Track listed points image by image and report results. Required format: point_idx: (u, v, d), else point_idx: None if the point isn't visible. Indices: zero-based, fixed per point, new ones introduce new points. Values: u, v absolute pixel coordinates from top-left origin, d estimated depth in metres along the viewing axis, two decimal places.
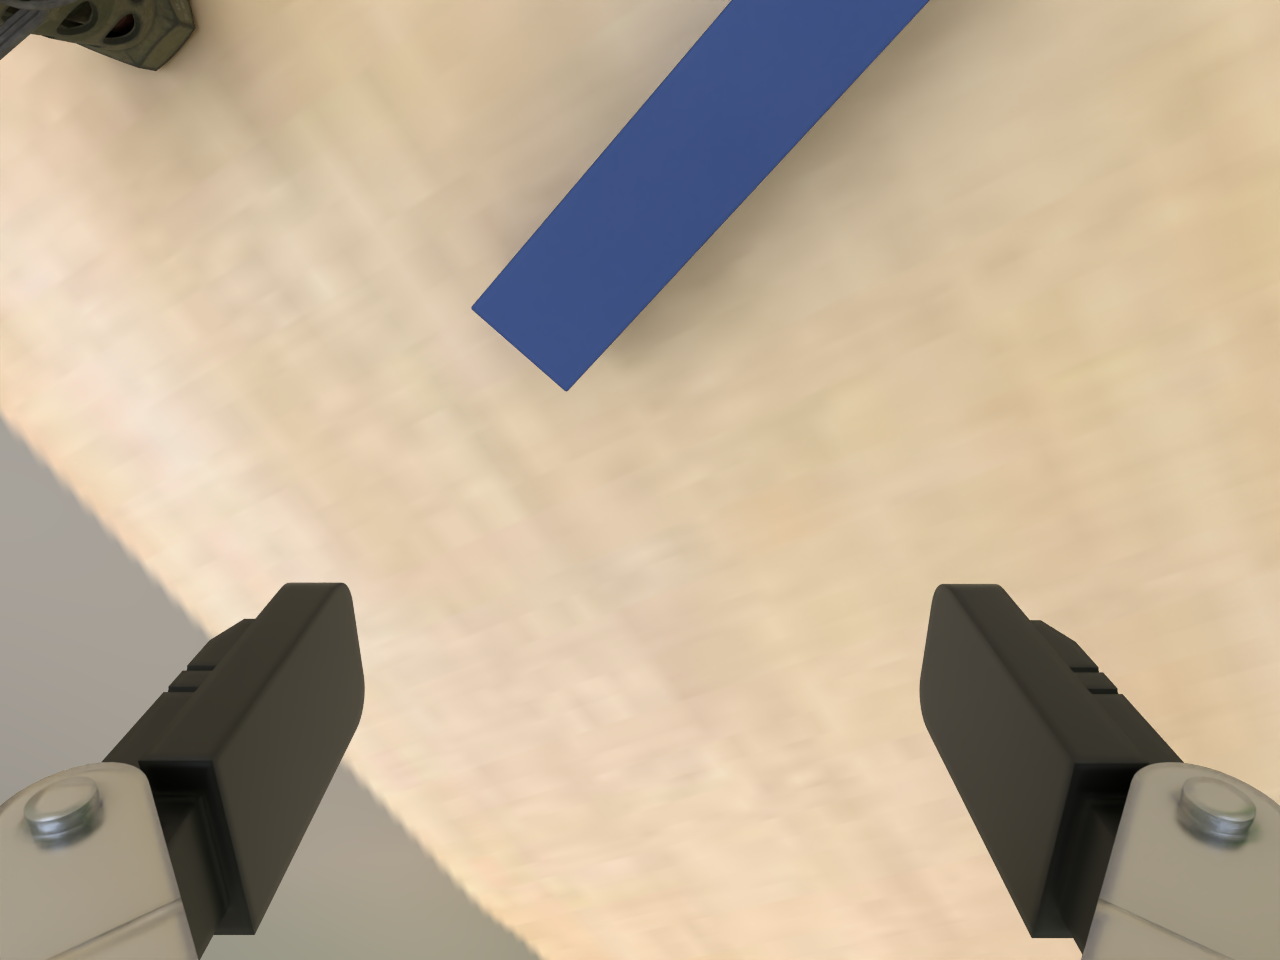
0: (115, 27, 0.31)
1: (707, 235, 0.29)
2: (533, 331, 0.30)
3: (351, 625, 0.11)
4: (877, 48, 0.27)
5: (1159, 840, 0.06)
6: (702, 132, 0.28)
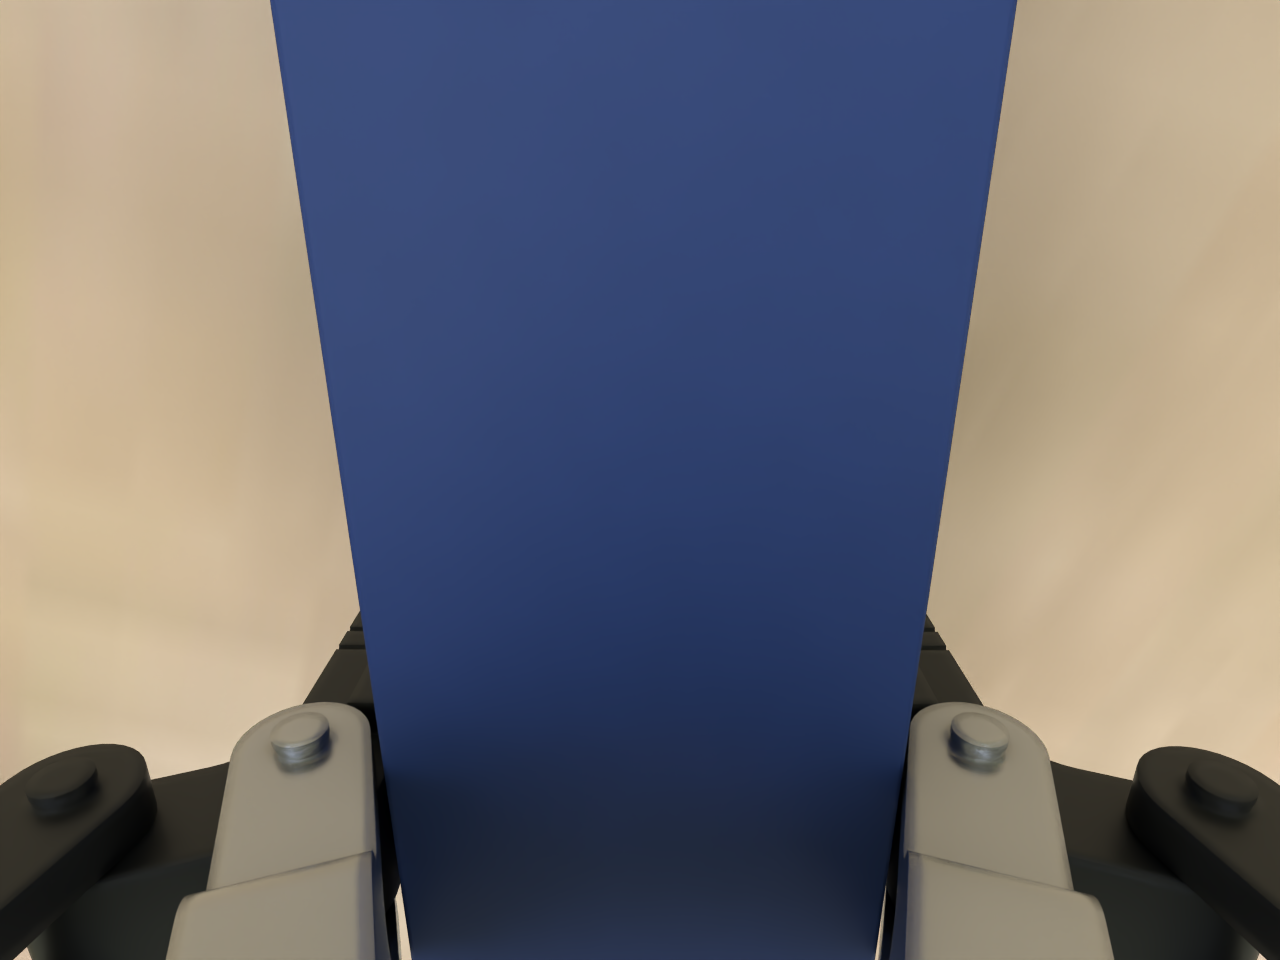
0: None
1: (928, 531, 0.06)
2: None
3: None
4: None
5: (941, 779, 0.07)
6: (604, 226, 0.06)
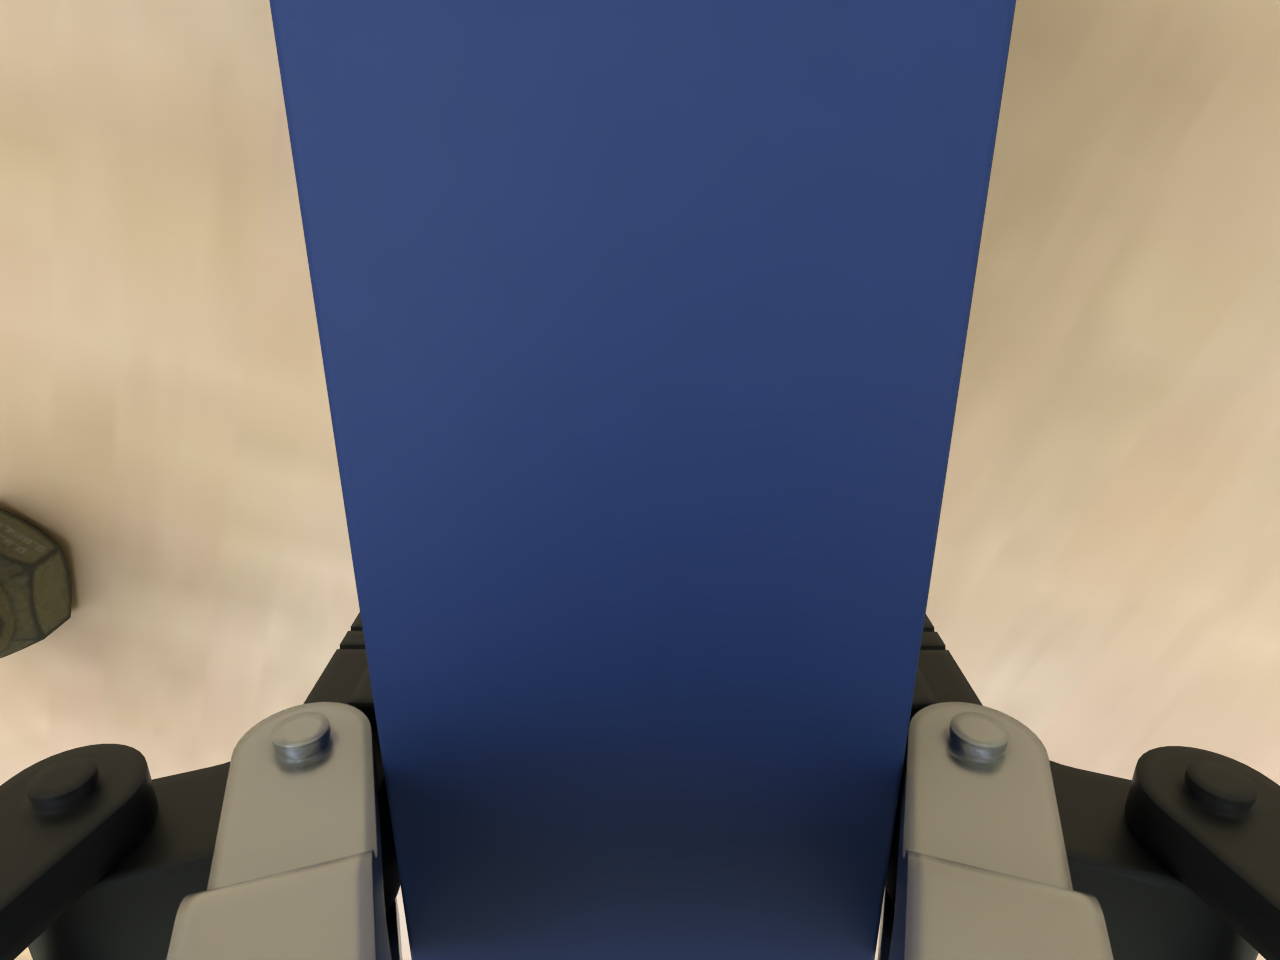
0: None
1: (927, 531, 0.06)
2: None
3: None
4: None
5: (940, 779, 0.07)
6: (603, 226, 0.06)
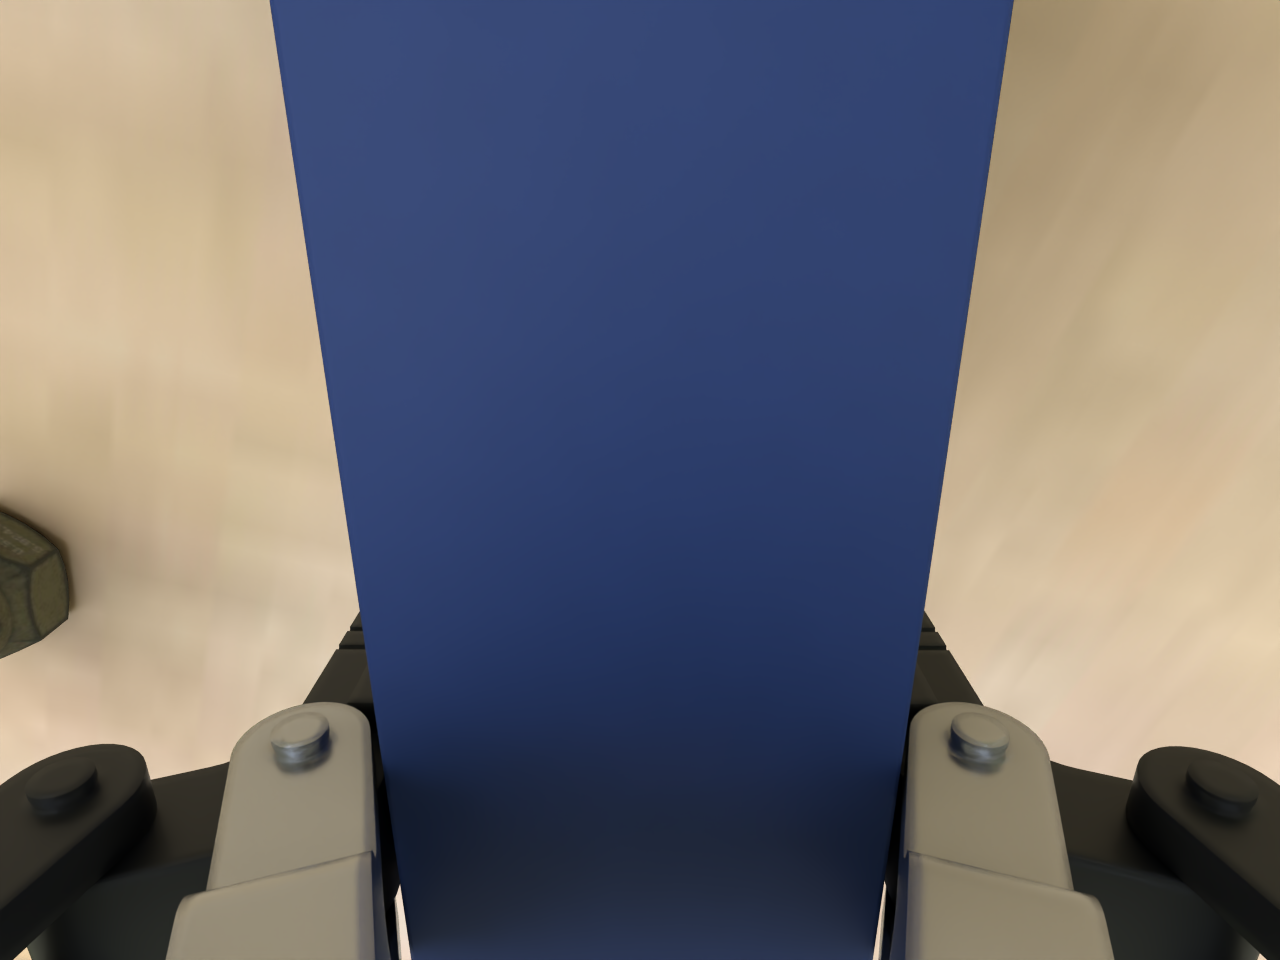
0: None
1: (925, 530, 0.06)
2: None
3: None
4: None
5: (942, 779, 0.07)
6: (601, 226, 0.06)
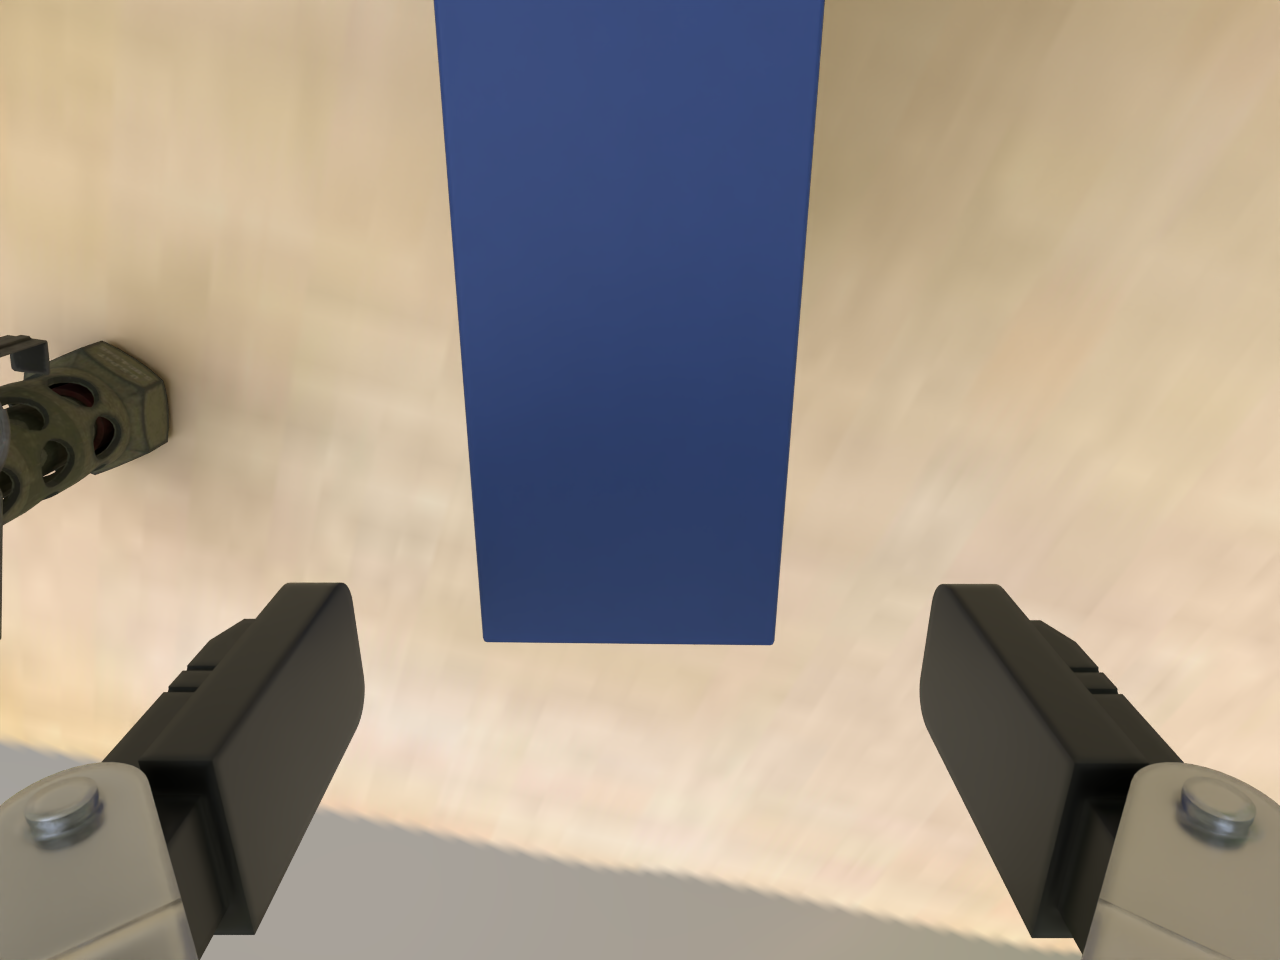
0: (103, 437, 0.30)
1: (807, 114, 0.10)
2: (622, 595, 0.13)
3: (351, 625, 0.11)
4: None
5: (1160, 840, 0.06)
6: None
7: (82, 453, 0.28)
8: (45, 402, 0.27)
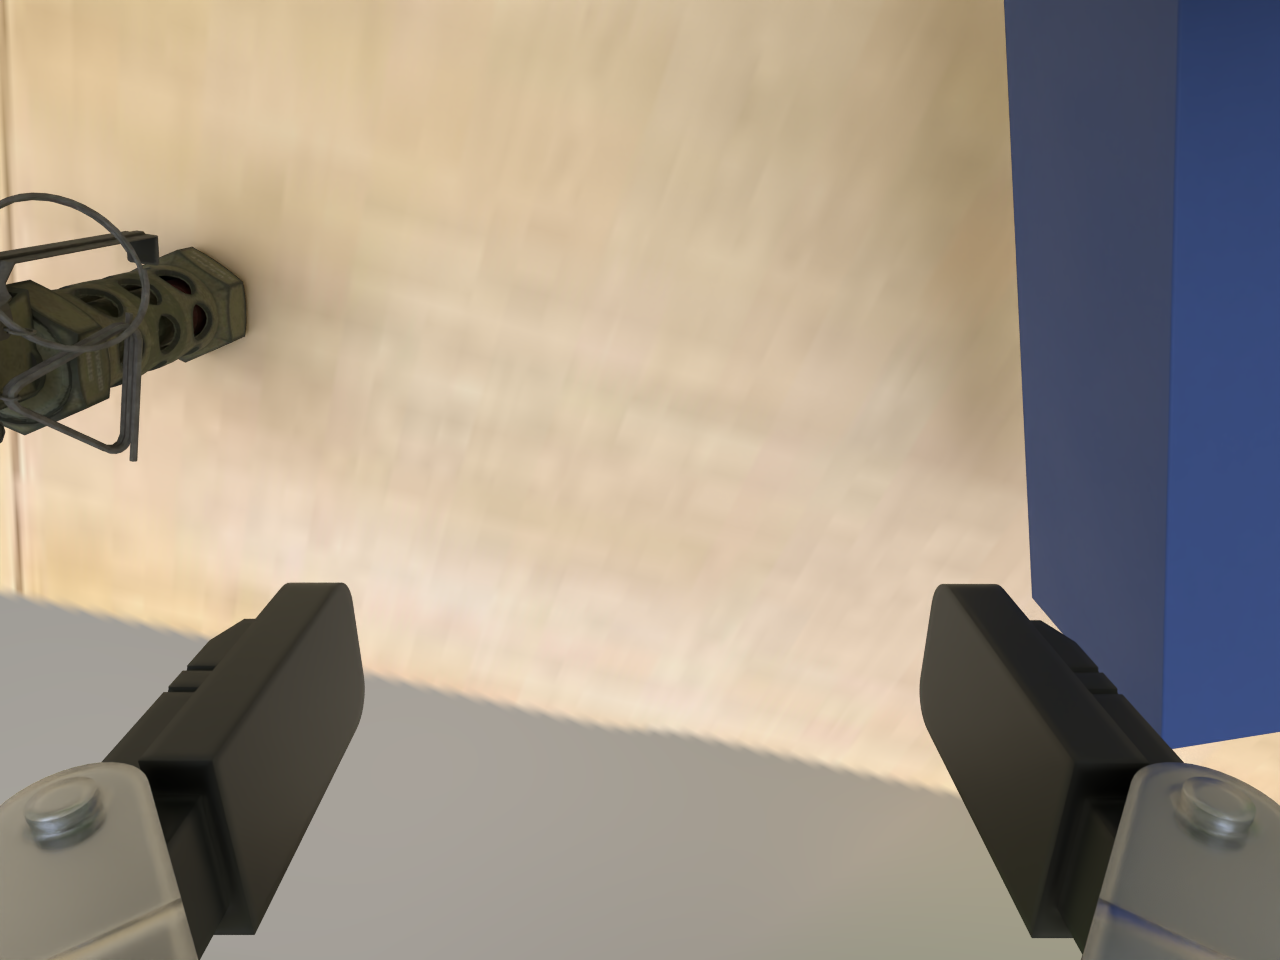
0: (196, 325, 0.36)
1: None
2: (1246, 711, 0.22)
3: (351, 625, 0.11)
4: None
5: (1159, 840, 0.06)
6: (1260, 401, 0.19)
7: (185, 331, 0.33)
8: (157, 285, 0.33)
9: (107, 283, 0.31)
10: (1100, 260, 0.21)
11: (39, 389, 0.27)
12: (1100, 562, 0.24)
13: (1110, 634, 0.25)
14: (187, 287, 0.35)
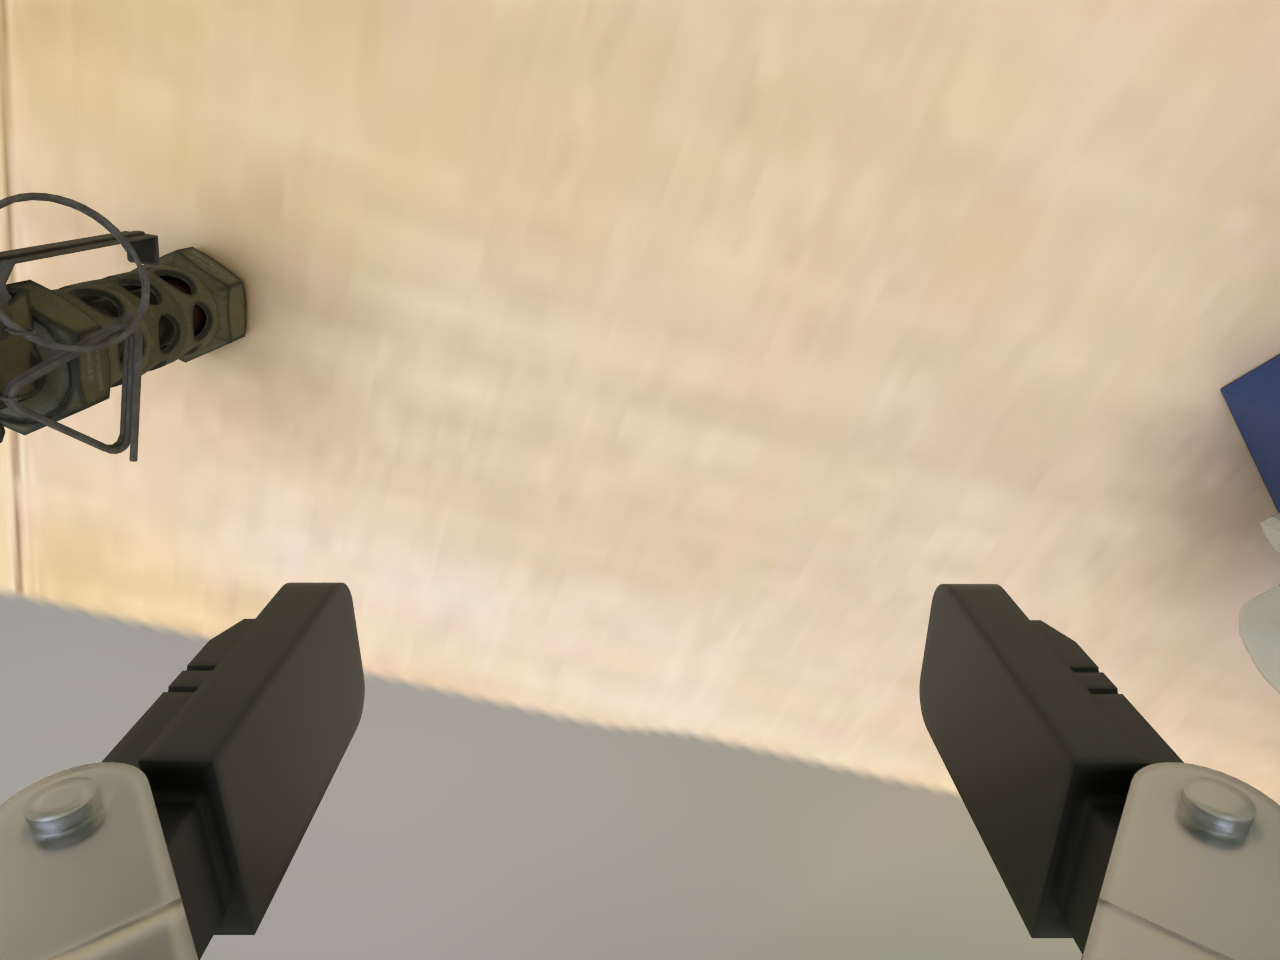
0: (196, 325, 0.36)
1: None
2: None
3: (351, 625, 0.11)
4: None
5: (1159, 840, 0.06)
6: None
7: (185, 331, 0.33)
8: (157, 285, 0.33)
9: (107, 283, 0.31)
10: None
11: (39, 389, 0.27)
12: None
13: None
14: (187, 287, 0.35)
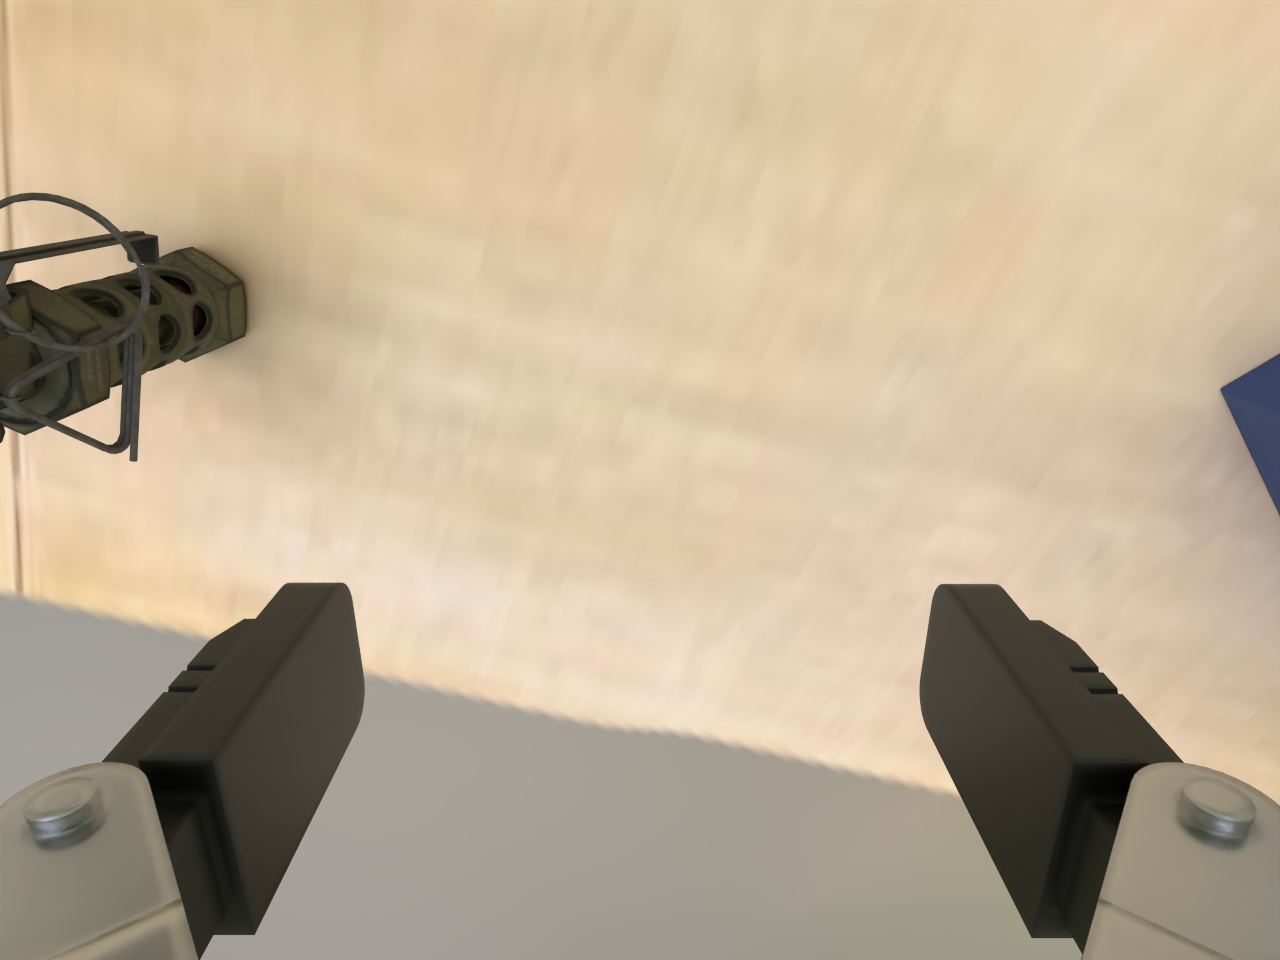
0: (196, 325, 0.36)
1: None
2: None
3: (351, 625, 0.11)
4: None
5: (1159, 840, 0.06)
6: None
7: (185, 331, 0.33)
8: (157, 285, 0.33)
9: (107, 283, 0.31)
10: None
11: (39, 389, 0.27)
12: None
13: None
14: (187, 287, 0.35)
